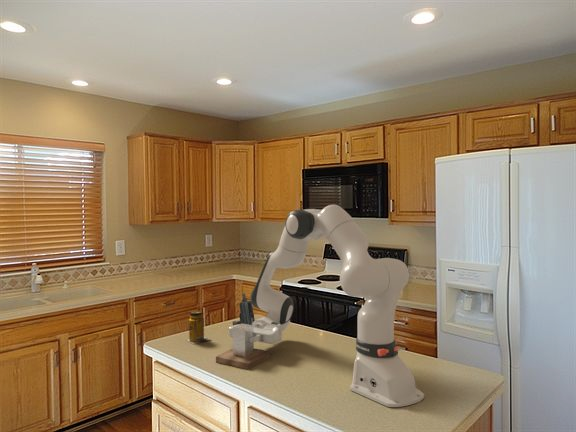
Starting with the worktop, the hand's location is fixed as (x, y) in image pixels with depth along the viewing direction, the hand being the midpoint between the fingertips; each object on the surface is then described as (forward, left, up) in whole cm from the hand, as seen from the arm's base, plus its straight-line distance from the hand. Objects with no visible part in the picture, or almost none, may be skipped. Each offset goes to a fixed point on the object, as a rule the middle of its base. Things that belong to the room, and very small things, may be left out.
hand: (241, 339), depth 150 cm
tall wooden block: (+1, -1, -5) cm, 6 cm away
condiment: (+30, +7, -8) cm, 32 cm away
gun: (+34, -15, -8) cm, 38 cm away
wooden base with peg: (0, -1, -8) cm, 8 cm away
